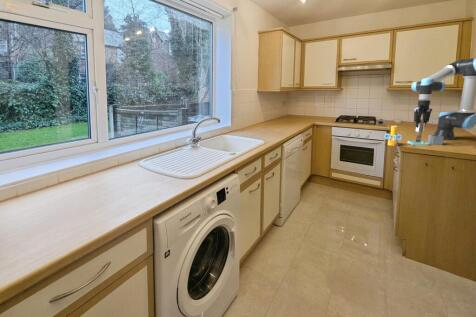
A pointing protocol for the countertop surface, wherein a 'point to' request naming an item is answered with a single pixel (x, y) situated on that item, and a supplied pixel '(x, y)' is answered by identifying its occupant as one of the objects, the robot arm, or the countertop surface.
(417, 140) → the dowel
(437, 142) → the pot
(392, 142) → the yellow and blue toy
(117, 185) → the countertop surface
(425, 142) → the tray
